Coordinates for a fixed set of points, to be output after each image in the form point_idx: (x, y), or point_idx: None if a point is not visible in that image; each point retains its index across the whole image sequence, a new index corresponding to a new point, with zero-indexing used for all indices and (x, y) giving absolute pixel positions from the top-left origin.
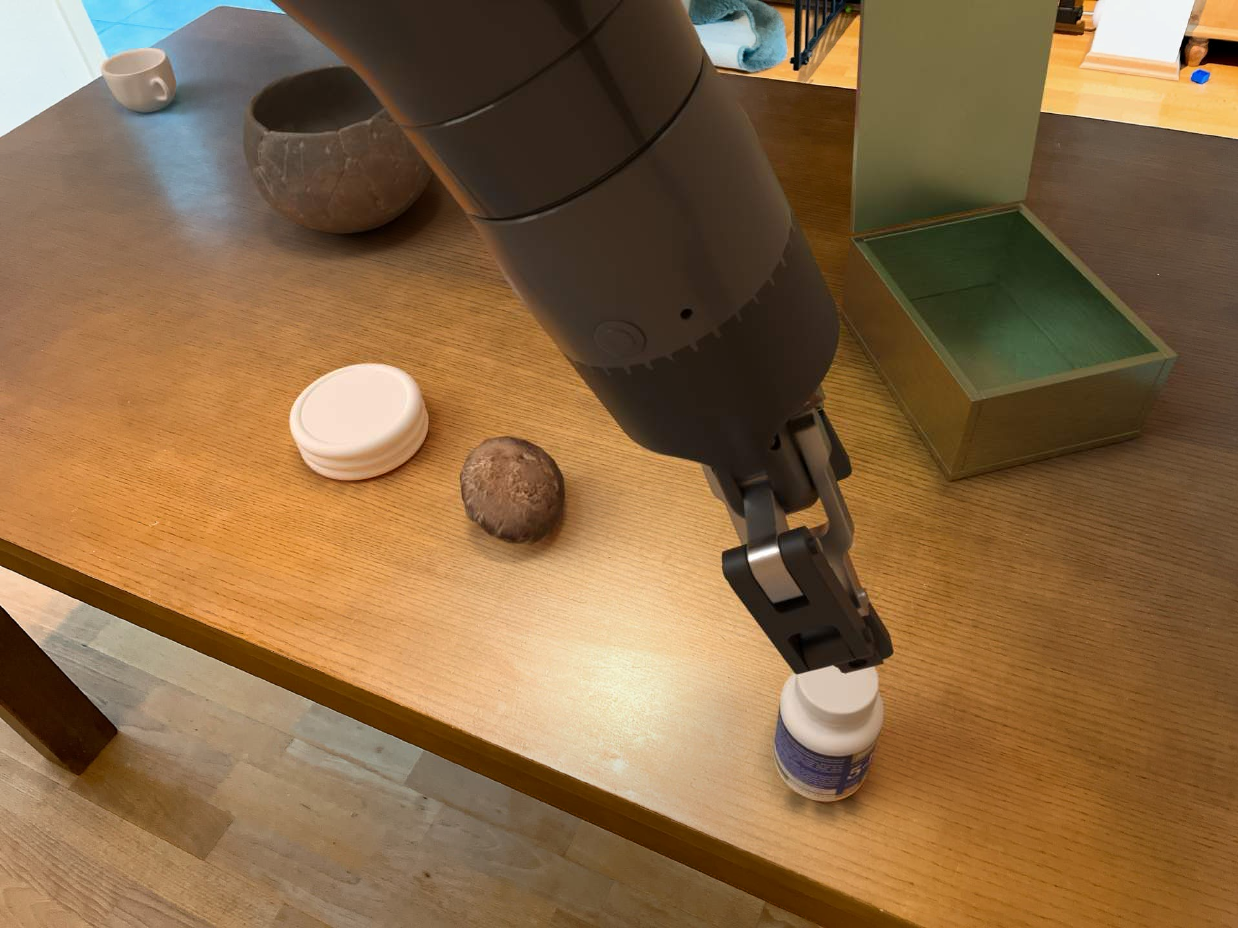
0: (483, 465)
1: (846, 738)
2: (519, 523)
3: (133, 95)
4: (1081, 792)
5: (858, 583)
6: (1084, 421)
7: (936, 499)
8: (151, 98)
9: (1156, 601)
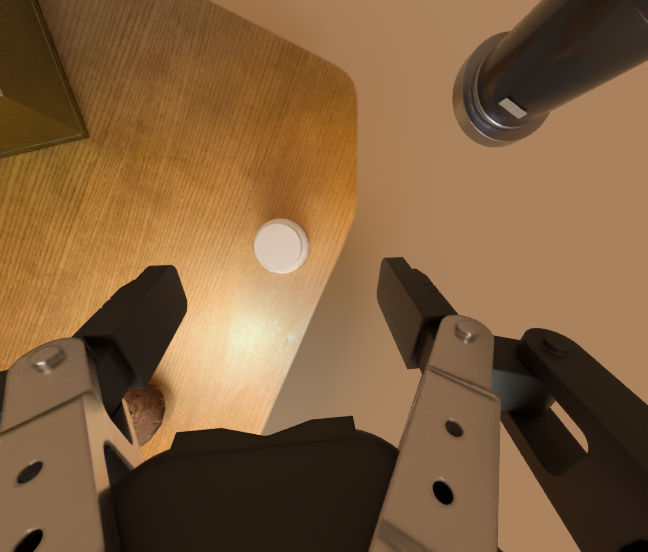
0: None
1: (304, 242)
2: (153, 412)
3: None
4: (301, 122)
5: (452, 336)
6: (16, 11)
7: (106, 149)
8: None
9: (183, 32)
